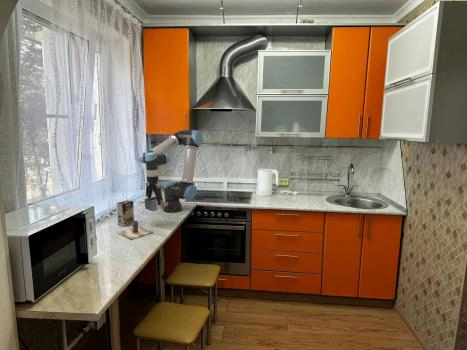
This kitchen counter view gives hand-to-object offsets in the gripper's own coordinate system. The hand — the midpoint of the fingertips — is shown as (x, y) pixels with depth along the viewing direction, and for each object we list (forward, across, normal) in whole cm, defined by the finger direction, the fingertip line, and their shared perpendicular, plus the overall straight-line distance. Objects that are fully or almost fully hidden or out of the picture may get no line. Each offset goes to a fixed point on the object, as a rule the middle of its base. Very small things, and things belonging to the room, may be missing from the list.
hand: (154, 208), depth 217 cm
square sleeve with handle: (0, 0, +3) cm, 3 cm away
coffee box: (+12, -17, -13) cm, 24 cm away
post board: (+12, +4, -18) cm, 22 cm away
